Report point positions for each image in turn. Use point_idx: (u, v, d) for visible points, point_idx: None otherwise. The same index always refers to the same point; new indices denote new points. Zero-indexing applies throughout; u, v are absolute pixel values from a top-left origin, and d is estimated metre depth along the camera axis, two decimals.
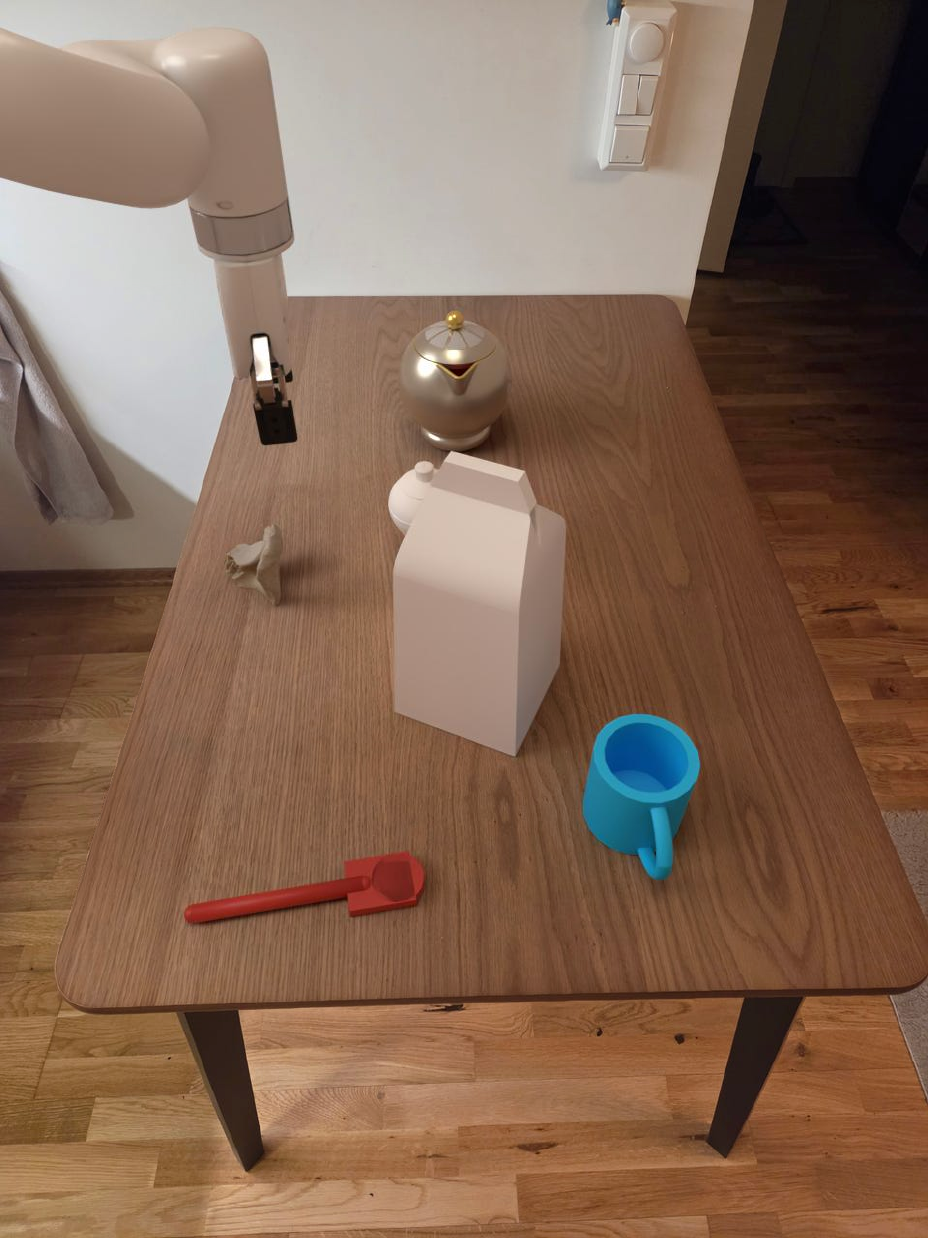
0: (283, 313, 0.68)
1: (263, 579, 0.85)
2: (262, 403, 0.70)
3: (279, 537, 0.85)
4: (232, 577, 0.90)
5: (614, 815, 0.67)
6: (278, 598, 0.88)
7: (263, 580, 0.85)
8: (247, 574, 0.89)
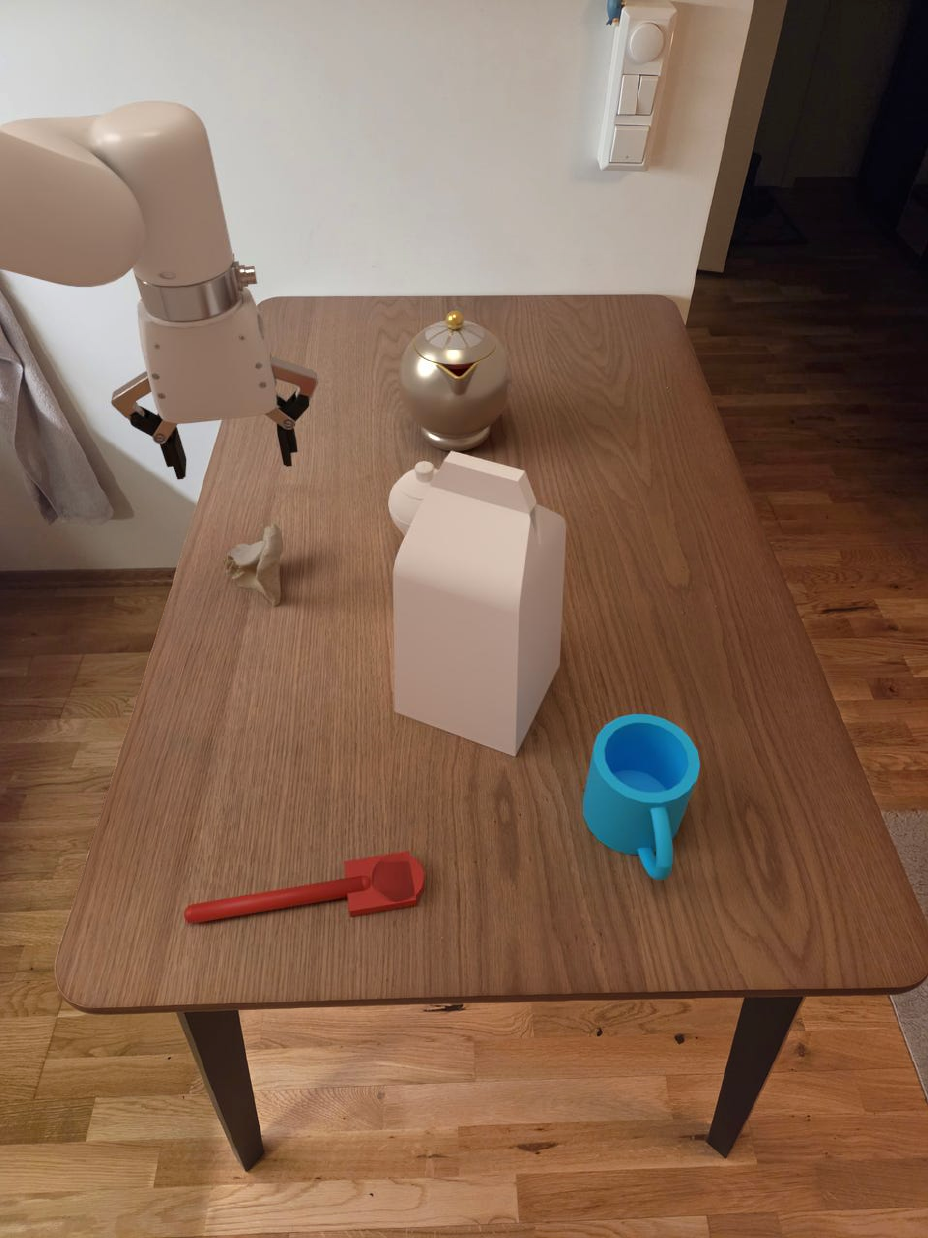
0: (153, 370, 0.69)
1: (263, 579, 0.85)
2: None
3: (279, 537, 0.85)
4: (232, 577, 0.90)
5: (614, 815, 0.67)
6: (278, 598, 0.88)
7: (263, 580, 0.85)
8: (247, 574, 0.89)
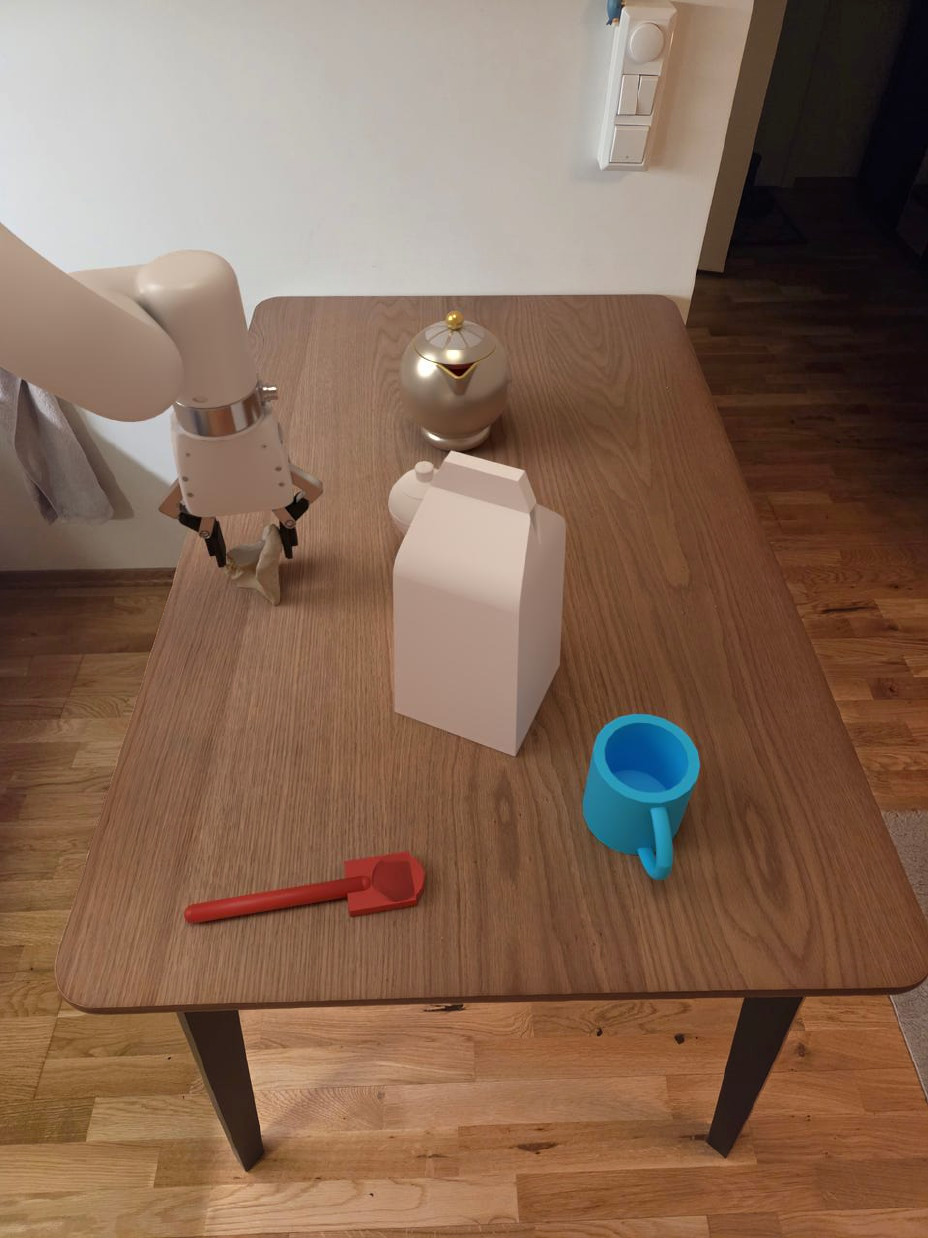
0: (184, 474, 0.77)
1: (262, 579, 0.85)
2: None
3: (278, 537, 0.85)
4: (232, 577, 0.90)
5: (614, 815, 0.67)
6: (278, 598, 0.88)
7: (263, 580, 0.85)
8: (246, 574, 0.89)
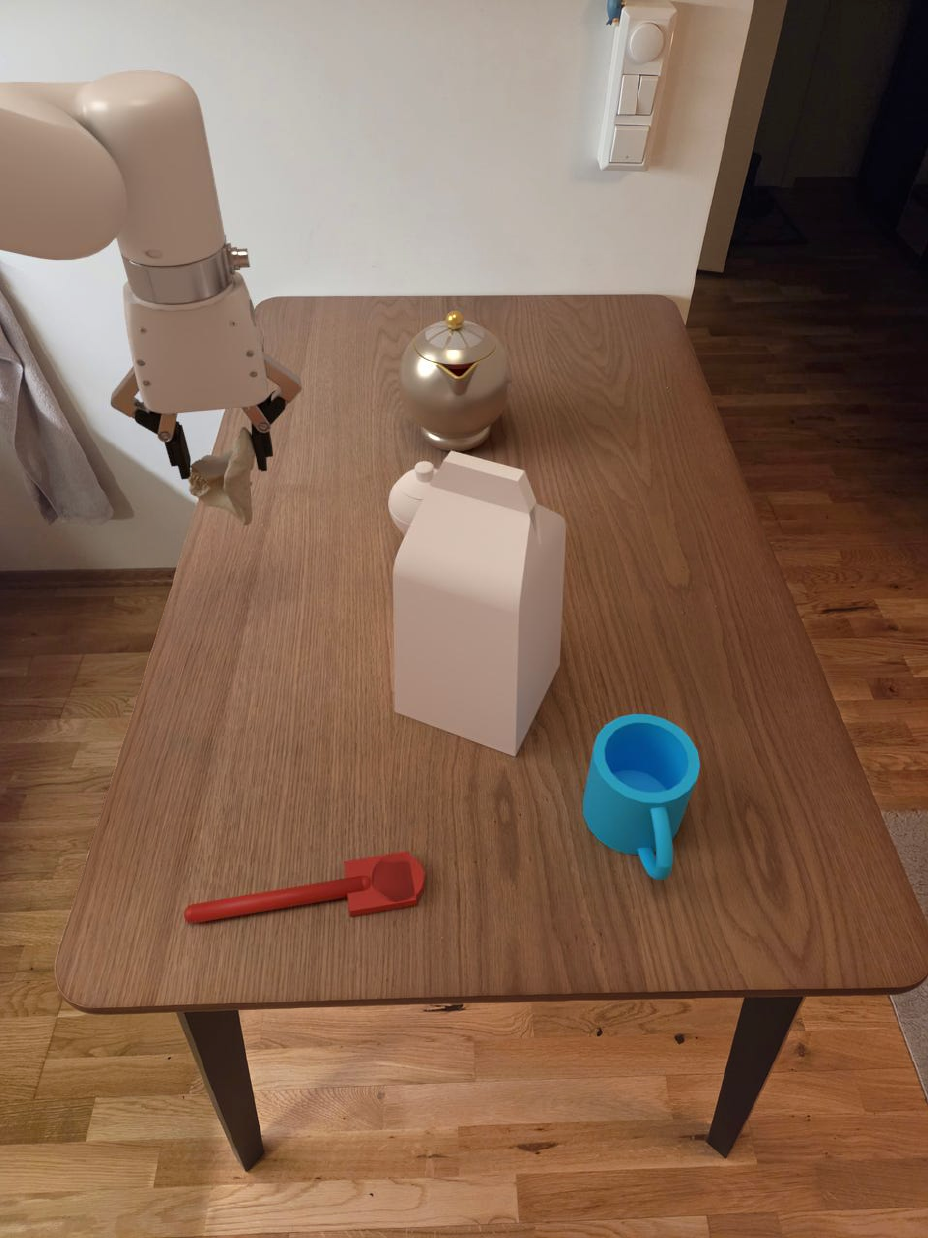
0: (139, 356, 0.66)
1: (231, 490, 0.74)
2: None
3: (249, 442, 0.74)
4: (197, 494, 0.79)
5: (614, 815, 0.67)
6: (249, 516, 0.77)
7: (232, 492, 0.74)
8: (214, 490, 0.78)
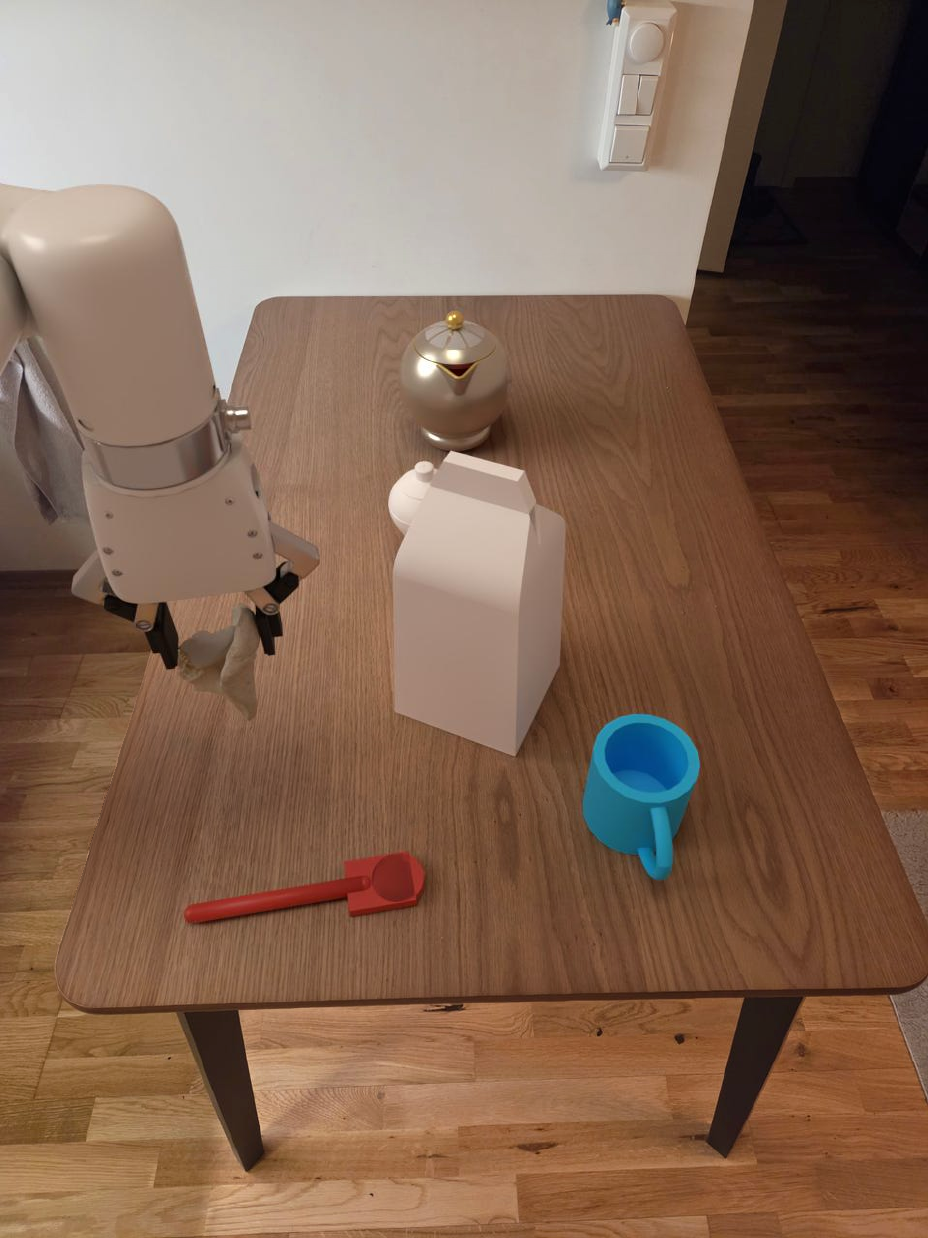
0: (105, 544, 0.50)
1: (230, 689, 0.57)
2: None
3: (253, 627, 0.57)
4: (187, 678, 0.62)
5: (614, 815, 0.67)
6: (254, 711, 0.61)
7: (231, 691, 0.58)
8: (209, 674, 0.62)
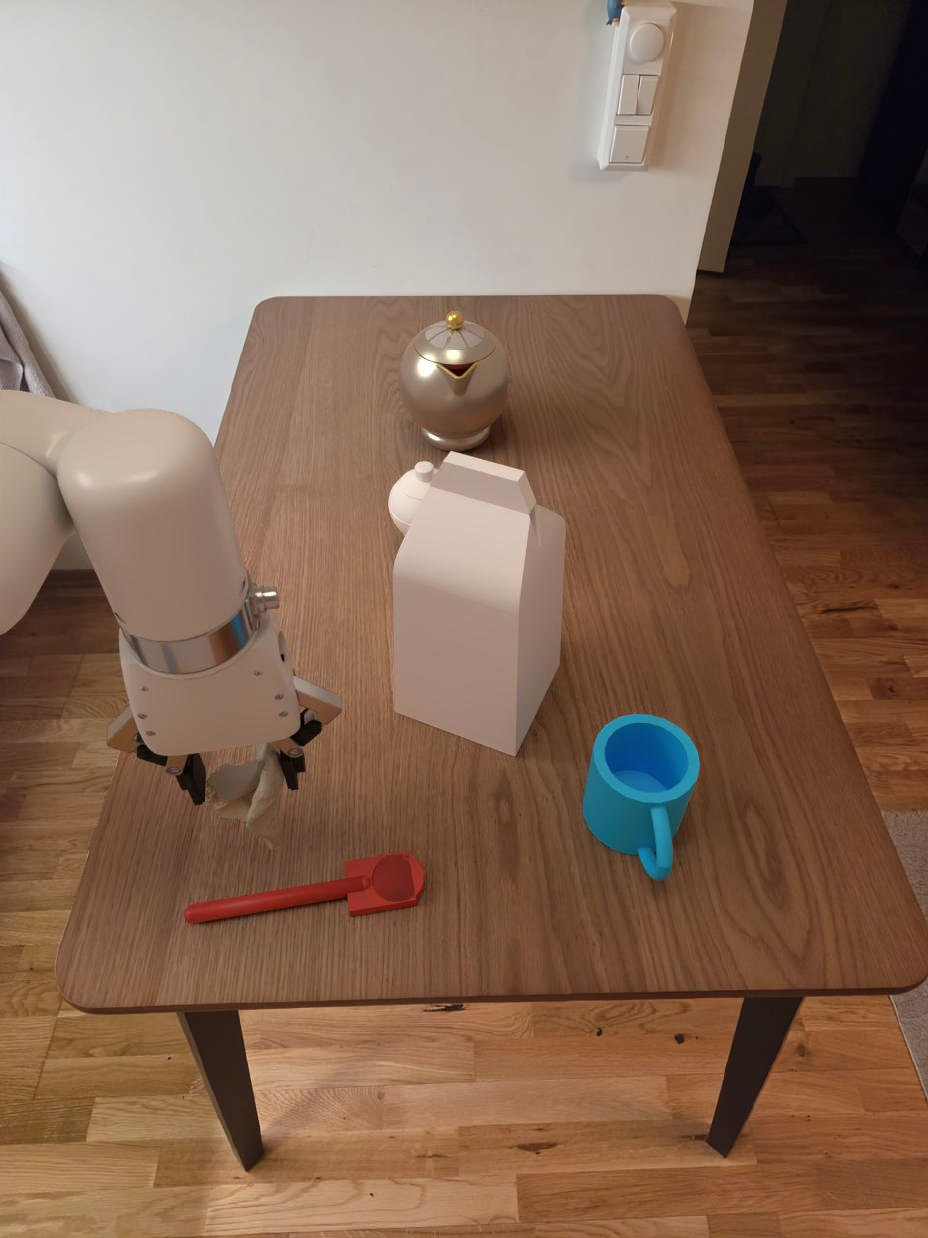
0: (140, 711, 0.52)
1: (256, 828, 0.60)
2: None
3: (278, 769, 0.60)
4: (214, 806, 0.65)
5: (614, 815, 0.67)
6: (277, 842, 0.63)
7: (256, 829, 0.60)
8: (234, 804, 0.65)
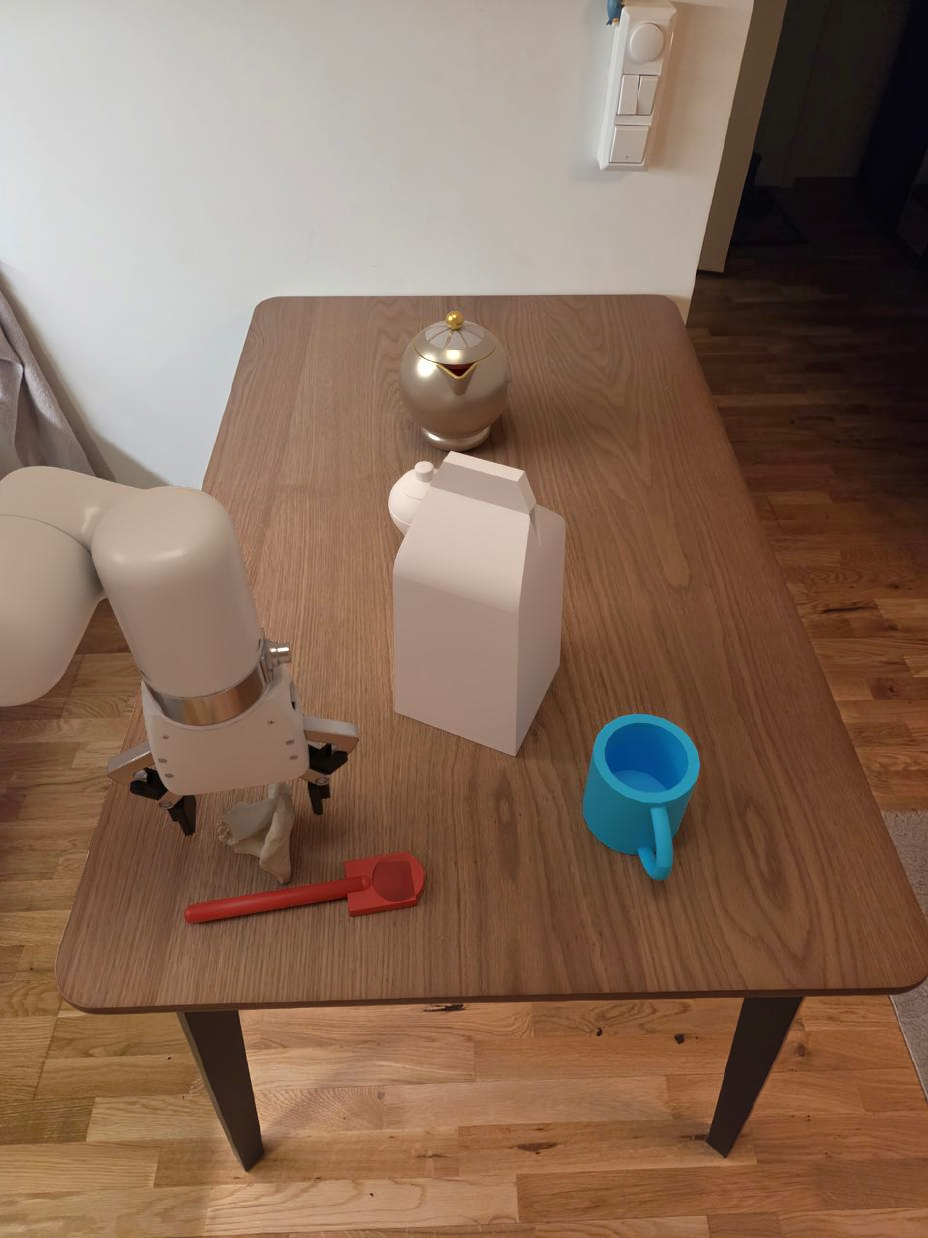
0: (160, 756, 0.56)
1: (268, 866, 0.64)
2: None
3: (289, 810, 0.64)
4: (227, 842, 0.69)
5: (614, 815, 0.67)
6: (288, 877, 0.67)
7: (269, 867, 0.64)
8: (247, 840, 0.69)
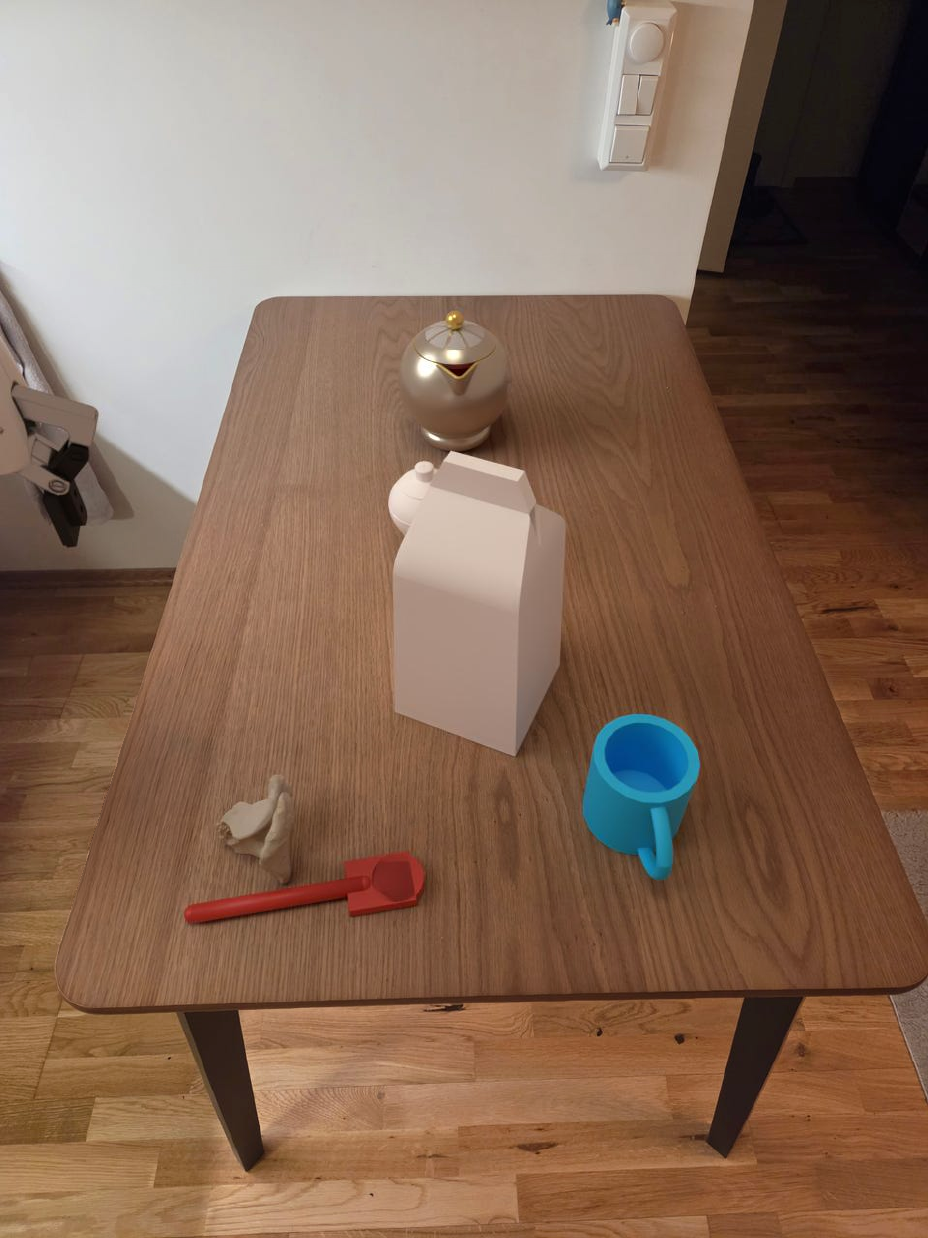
0: None
1: (268, 866, 0.64)
2: None
3: (289, 810, 0.64)
4: (227, 842, 0.69)
5: (614, 815, 0.67)
6: (288, 877, 0.67)
7: (269, 867, 0.64)
8: (247, 840, 0.69)
